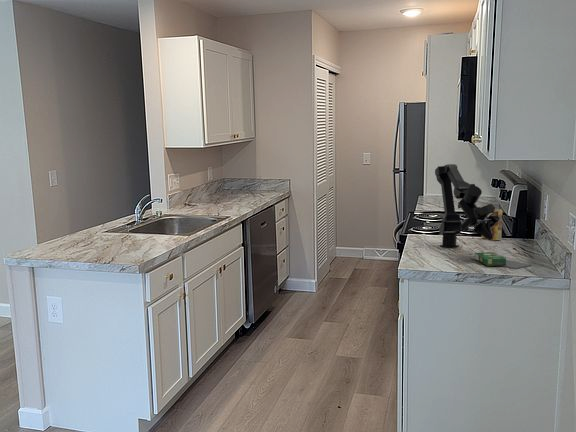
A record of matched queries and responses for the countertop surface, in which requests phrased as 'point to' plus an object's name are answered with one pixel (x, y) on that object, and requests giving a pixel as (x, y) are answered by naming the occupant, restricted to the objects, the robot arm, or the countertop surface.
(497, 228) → the candy box
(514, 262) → the mat
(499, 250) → the countertop surface
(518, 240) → the countertop surface
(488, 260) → the coffee box
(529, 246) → the countertop surface
